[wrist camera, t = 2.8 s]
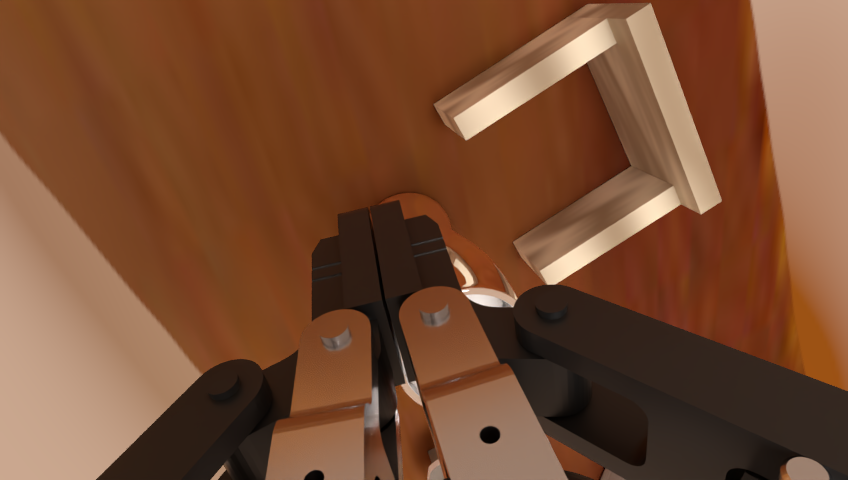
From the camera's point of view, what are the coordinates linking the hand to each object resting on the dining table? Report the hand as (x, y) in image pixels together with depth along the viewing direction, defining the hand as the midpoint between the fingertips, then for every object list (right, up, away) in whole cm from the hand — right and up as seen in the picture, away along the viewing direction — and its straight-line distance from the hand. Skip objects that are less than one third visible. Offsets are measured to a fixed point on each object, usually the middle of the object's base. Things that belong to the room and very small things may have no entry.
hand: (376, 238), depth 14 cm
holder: (+9, +6, +25) cm, 27 cm away
